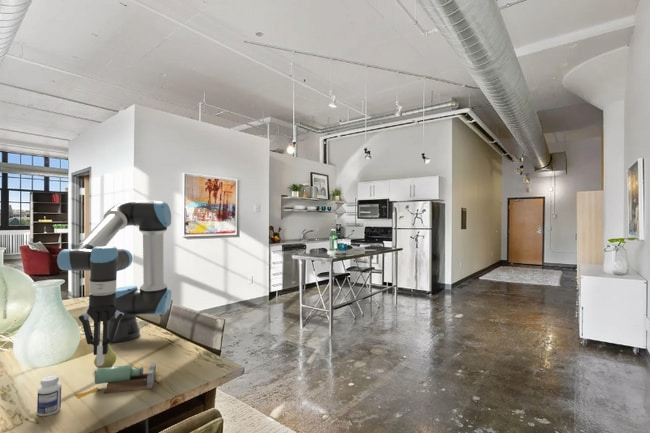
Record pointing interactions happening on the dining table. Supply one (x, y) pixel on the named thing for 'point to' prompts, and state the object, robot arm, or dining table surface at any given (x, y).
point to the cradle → (134, 382)
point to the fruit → (107, 358)
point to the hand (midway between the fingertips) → (100, 364)
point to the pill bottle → (49, 396)
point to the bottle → (116, 374)
